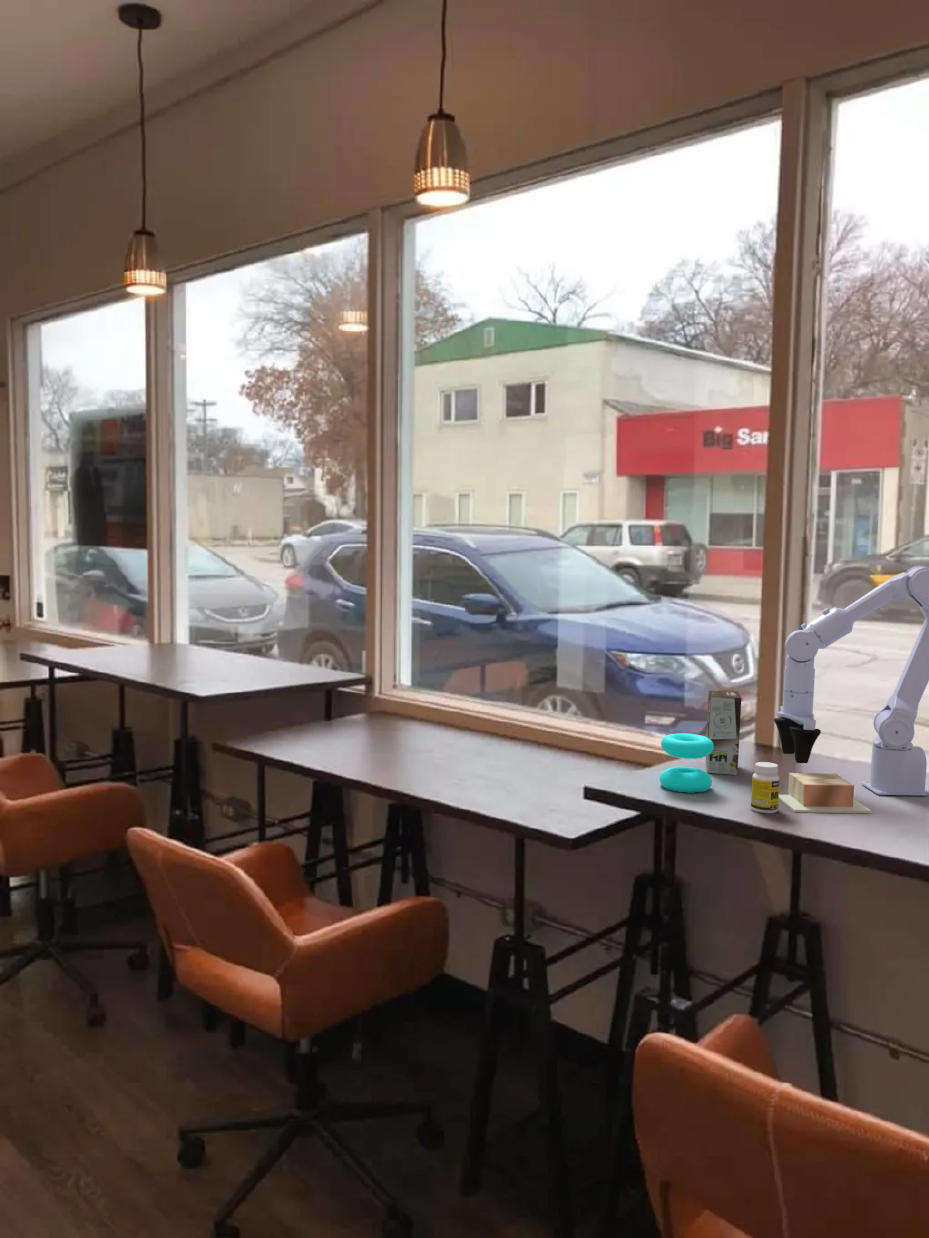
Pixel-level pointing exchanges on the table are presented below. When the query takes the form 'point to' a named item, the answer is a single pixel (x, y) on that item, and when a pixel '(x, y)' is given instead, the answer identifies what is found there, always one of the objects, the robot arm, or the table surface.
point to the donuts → (681, 775)
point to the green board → (797, 807)
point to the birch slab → (820, 790)
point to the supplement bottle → (765, 788)
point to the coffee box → (723, 731)
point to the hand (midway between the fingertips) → (794, 758)
